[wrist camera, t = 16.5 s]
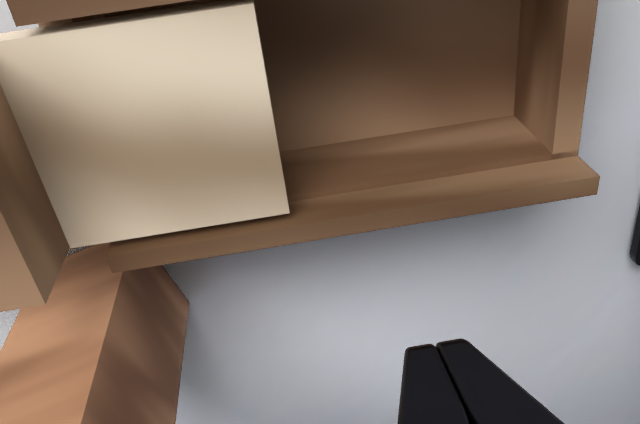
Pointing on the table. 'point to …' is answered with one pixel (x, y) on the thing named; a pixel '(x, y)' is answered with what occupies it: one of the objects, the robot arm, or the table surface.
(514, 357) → the table surface
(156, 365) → the wooden key
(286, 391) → the table surface
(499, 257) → the table surface
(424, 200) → the brown boxy piece
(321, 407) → the table surface
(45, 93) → the lid
